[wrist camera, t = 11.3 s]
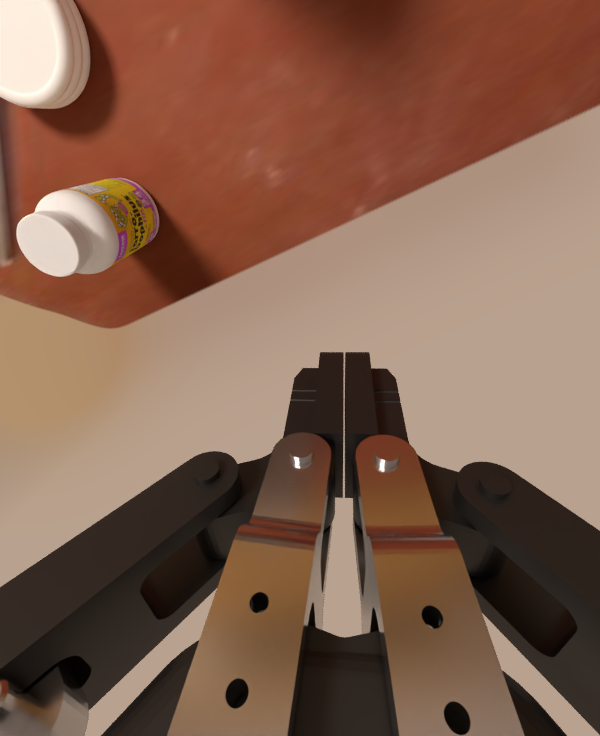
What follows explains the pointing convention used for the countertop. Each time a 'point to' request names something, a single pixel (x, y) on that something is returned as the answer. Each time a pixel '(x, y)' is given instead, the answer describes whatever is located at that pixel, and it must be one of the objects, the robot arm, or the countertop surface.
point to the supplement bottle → (88, 227)
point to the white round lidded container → (42, 53)
